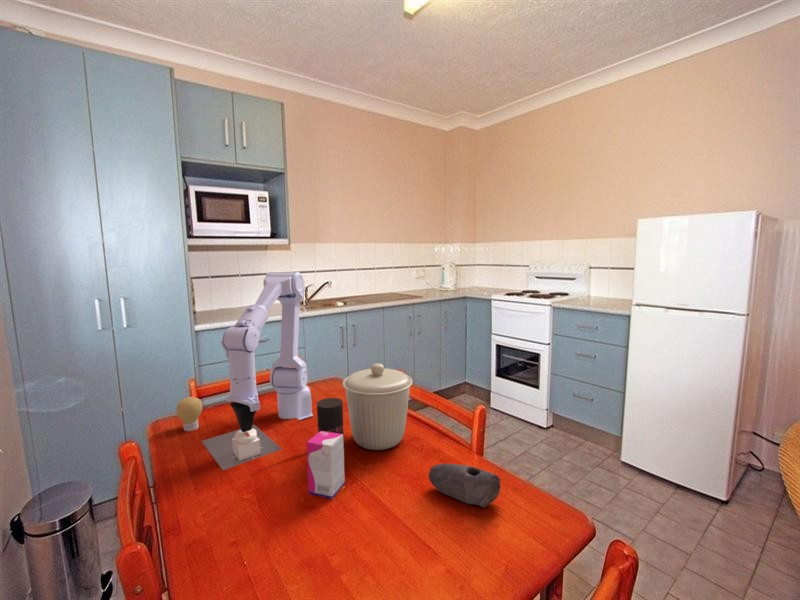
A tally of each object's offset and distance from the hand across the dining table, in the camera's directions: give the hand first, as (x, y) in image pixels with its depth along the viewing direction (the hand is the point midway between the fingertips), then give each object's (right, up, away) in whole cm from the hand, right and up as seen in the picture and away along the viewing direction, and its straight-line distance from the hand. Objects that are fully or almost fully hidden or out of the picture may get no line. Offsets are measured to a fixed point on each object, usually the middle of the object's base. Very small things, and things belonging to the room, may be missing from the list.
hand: (246, 430), depth 94 cm
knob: (0, -6, +1) cm, 6 cm away
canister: (+32, -6, +9) cm, 33 cm away
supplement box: (+22, -9, -12) cm, 26 cm away
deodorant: (+21, -7, -2) cm, 22 cm away
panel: (-3, -6, +5) cm, 9 cm away
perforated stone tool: (+50, -9, -15) cm, 53 cm away
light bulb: (-21, -6, +14) cm, 26 cm away
